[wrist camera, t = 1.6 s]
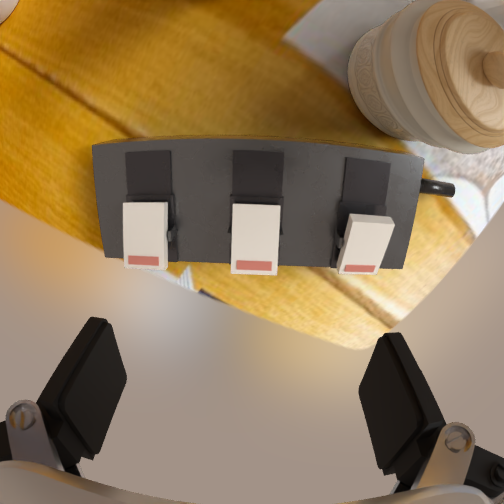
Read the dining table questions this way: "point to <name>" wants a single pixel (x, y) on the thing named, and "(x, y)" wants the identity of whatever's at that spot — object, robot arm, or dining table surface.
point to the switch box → (259, 192)
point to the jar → (433, 76)
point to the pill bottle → (6, 8)
